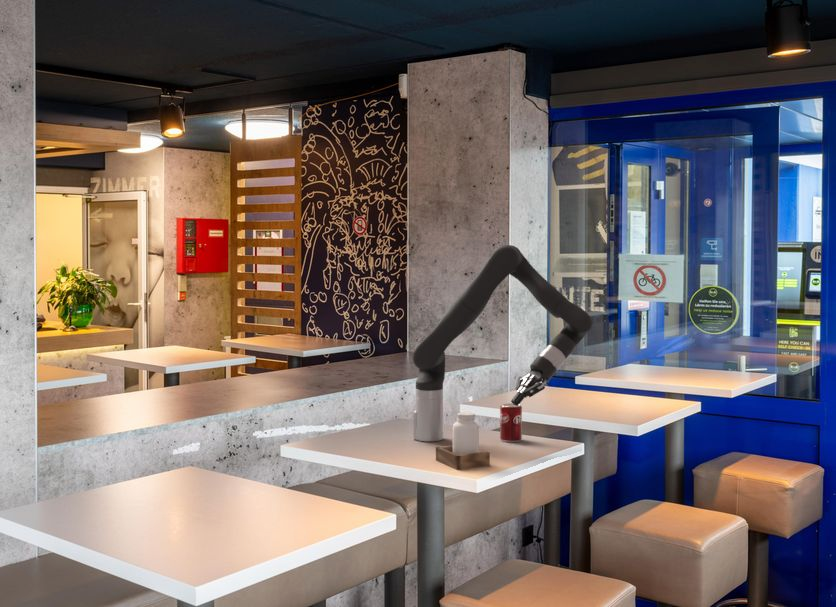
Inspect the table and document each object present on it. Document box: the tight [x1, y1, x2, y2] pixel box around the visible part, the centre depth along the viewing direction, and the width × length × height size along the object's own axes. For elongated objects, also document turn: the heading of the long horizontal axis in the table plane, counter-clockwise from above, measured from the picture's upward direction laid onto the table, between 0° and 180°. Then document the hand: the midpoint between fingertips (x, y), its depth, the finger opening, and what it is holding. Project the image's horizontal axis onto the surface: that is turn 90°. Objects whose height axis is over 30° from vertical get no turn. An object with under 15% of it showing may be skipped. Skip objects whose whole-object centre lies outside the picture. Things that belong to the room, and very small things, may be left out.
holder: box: [435, 444, 491, 471], centre depth 275 cm, size 11×13×4 cm
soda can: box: [499, 402, 523, 443], centre depth 306 cm, size 7×7×12 cm
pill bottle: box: [452, 411, 480, 455], centre depth 275 cm, size 8×8×15 cm
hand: (513, 403), depth 282 cm, fingers closed
